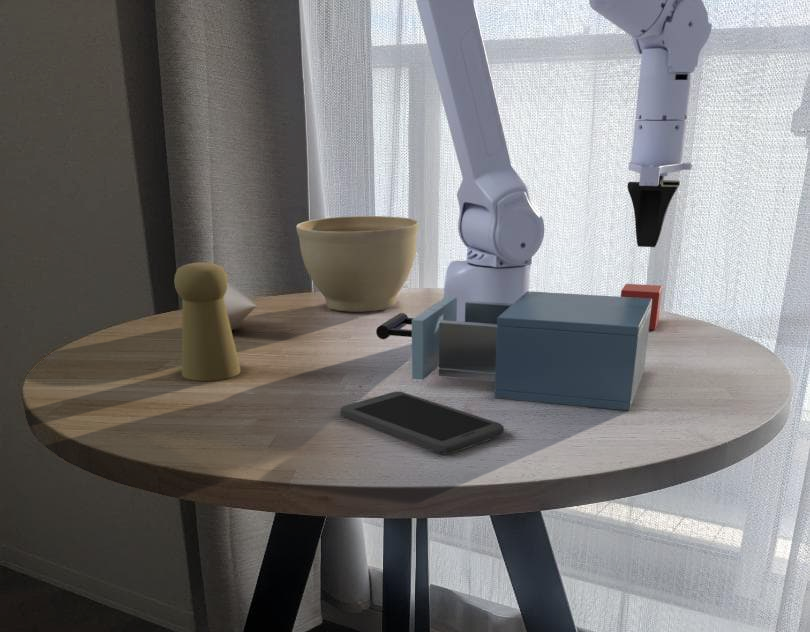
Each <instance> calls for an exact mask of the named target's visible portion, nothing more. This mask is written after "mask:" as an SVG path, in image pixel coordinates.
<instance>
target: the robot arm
mask: <svg viewBox="0 0 810 632" xmlns="http://www.w3.org/2000/svg"><path fill="white" fill-rule="evenodd" d="M415 2H416V7H417V10H418V13H419V18H420V21H421V25H422V28H423V33H424V36H425V37H424V38H425V41H426V45H427V48H428V52H429V55H430V60H431V64H432V67H433V70H434V74H435V79H436V83H437V86H438V90H439V94H440V97H441V102H442V106H443V108H444V113H445V116H446V120H447V123H448V127H449V128H448V129H449V131H450V135H451V139H452V143H453V146H454V147H453V148H454V151H455V155H456V157H457V162H458V166H459V169H460V173H461V177H462V179H461V183H460V185H459V188H458V190H457V193H456V198H457V202H458V207H459V214H458V221H457V230H458V231H457V232H458V236H459V238H460V240H461V242H462V243H463V245H464V246H465V247H466V248H467V252H466V260H452V261H451V262H450V263H449V264H448V266H447V268H446V273H445V276H444V283H443V284H444V285H443V299H444V298H445V297H447V296H448V297H457V321H459V322H465V302H467V301H476V302H492V303H507V304H513V303H515V302H516V301H517V300H518V299H519V298H520V297H521V296H522V295H524V294H525V293H526V292H527V291H530V282H531V268H532V267H531V266H532V264H533V263H532V261H533V258H534V256H535V255H536V253H538V251H539V249H540V248H541V246H542V243H543V241H544V236H545V222H544V218H543V216H542V214H541V212H540V211H539V209H538V208H537V207H536V206H535V204H534V203H533V201H532V200H531V197H530V194H529V189H528V186H527V184H526V183H525V182H524V180H523V178H522V177H521V176H520V175H519V173H518V172H517V171H516V169H515V168H514V166H513V165H512V160H511V155H510V152H509V147H508V144H507V143H508V142H507V139H506V134H505V129H504V126H503V121H502V117H501V113H500V112H501V111H500V108H499V105H498V100H497V96H496V91H495V87H494V82H493V78H492V74H491V70H490V65H489V60H488V55H487V53H486V48H485V43H484V40H483V36H482V31H481V26H480V22H479V17H478V14H477V10H476V5H475V0H415ZM588 3H589V6H590V8H591V9H592V10H594V12H596V13H597V14H599V15H600V16H602V17H603V18H605V19H606V20H607V21H609V22H610V23H612V24H613V25H615V26H616V27H618V28H619V29H620V30H621V31H623V32H625V33H626V34H627V35H628V36H631V39H632V43H633V45H634V48H635V51H637V53H638V54H639V55H641V58H640V69H639V79H638V88H637V89H638V90H637V98H636V107H635V119H634V126H633V127H634V128H633V138H632V148H631V158H630V161H629V162H628V170H629V171H632V172H634V173H637V174H639V180H638V181H628V182H627V185H626V186H627V187H626V188H627V191H628V194H629V197H630V199H631V203H632V207H633V211H634V223H635V237H636V244H637V247H639V248H640V247H642V248H656V246H657V244H658V242H659V239H660V237H661V233H662V230H663V226H664V222H665V219H666V214H667V212H668V208H669V207H670V204H671V201H672V199H673V197H674V195H675V194H676V192H677V190H678V189H679V186H681V181H680V180H673V179H672V180H671V179H669V180H667V179H665V177H668V176H669V174H670V173H677V172H682V171H691V170H692V169H693V166H694V165H693V164H694V163H693V162H690V161H689V162H688V161H687V162H686V161H683V159H684V152H685V151H684V150H685V149H684V148H685V144H686V143H685V142H686V134H687V126H688V119H689V112H690V102H691V96H692V95H691V94H692V87H693V79H694V73H695V71H696V68H697V67H698V63H699V58H700V53H701V51H702V49H703V48H704V46H705V45H706V44H707V42H708V40H709V38H710V35H711V33H712V28H713V23H712V22H711V23H710V22H709V21H710V19H709V13H708V9H707V7H706V5H705V3H704V1H703V0H588Z"/></svg>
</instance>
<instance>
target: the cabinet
mask: <svg viewBox="0 0 810 632" xmlns="http://www.w3.org/2000/svg"><path fill="white" fill-rule="evenodd" d="M651 306H652V299H651V298H634V297H621V296H618V295H617V296H615V295H601V294H600V295H599V294H597V295H596V294H583V293H582V294H581V293H566V292H565V293H564V292H547V291H530V290H529V291H527V292H526V293H525V294H524V295H522V296H521V297H520V298H519V299H518V300H517V301H516V302H515V303H513V304H512V305H511V306H510V307H509V308H508V309H507V310H506V311H504V312H503V313H502V314H501V315H500V316H499V317H498V318H497V341H496V367H495V381H494V399H495V398H496V399H505V400H515V401H516V400H517V401H525V402H535V403H547V404H558V405H566V406H567V405H568V406H577V407H587V408H598V409H607V410H619V411H630V410H631V407H632V405H633V403H634V399H635V397H636V394H637V391H638V389H639V386H640V384H641V381H642V378H643V376H644V373H645V364H646V357H647V347H648V339H649V331H650V330H649V323H650V315H651Z"/></svg>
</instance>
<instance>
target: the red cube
mask: <svg viewBox="0 0 810 632" xmlns="http://www.w3.org/2000/svg"><path fill="white" fill-rule="evenodd" d="M662 295H663V285H657V284H637V283H625V284H624V286H623V287H622V289H621V290H620V297H634V298H651V299H652V306H651V315H650V323H649V331H656V328H657V326H658V324H659V317H660V310H661V303H662Z"/></svg>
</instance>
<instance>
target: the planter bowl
mask: <svg viewBox="0 0 810 632" xmlns="http://www.w3.org/2000/svg"><path fill="white" fill-rule="evenodd" d="M295 226H296V227H295V228H296V233H297V236H298V241H299V248H300V254H301V257H302V260H303V264H304V266H305V269H306V271H307V274H308V275H309V277H310V279H311V281H312V282H313V284H314V285H315V287H316V288H317V289H318V291H319V293H320V294H321V295H322V296H323V297H324V300H325V305H326V307H327V308H329V309H331V310H334V311H339V312H355V313H356V312H358V313H359V312H371V311H380V310H387V309H389V308H391V307H393V306H395V305H396V303H397V297H398V293H399V292H401V290H402V288H403V287H404V285H405V284H406V281H407V279H408V278H409V275H410V273H411V270H412V268H413V265H414V261H415V257H416V251H417V246H418V245H417V244H418V243H417V242H418V231H419V226H420V225H419V221H418V220H417V219H415V218H410V217H409V218H408V217H404V216H403V217H402V216H386V215H385V216H384V215H354V216H353V215H351V216H334V217H324V218H316V219H311V220H310V219H309V220H307V221H303V222H300V223H297V224H296V225H295Z"/></svg>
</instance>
